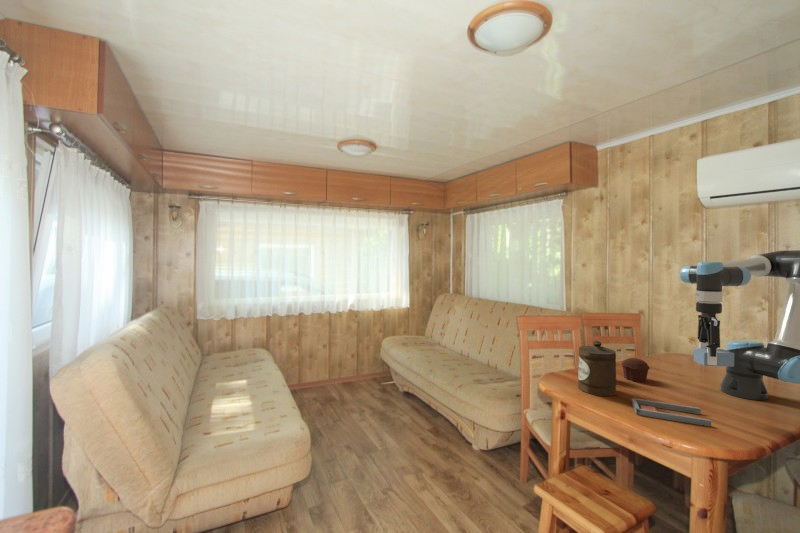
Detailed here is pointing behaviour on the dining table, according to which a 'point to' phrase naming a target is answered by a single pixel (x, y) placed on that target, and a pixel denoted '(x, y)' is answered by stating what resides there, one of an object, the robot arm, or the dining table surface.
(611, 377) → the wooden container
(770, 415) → the dining table surface
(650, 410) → the grey flat frame
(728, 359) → the slate block
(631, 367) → the muffin
